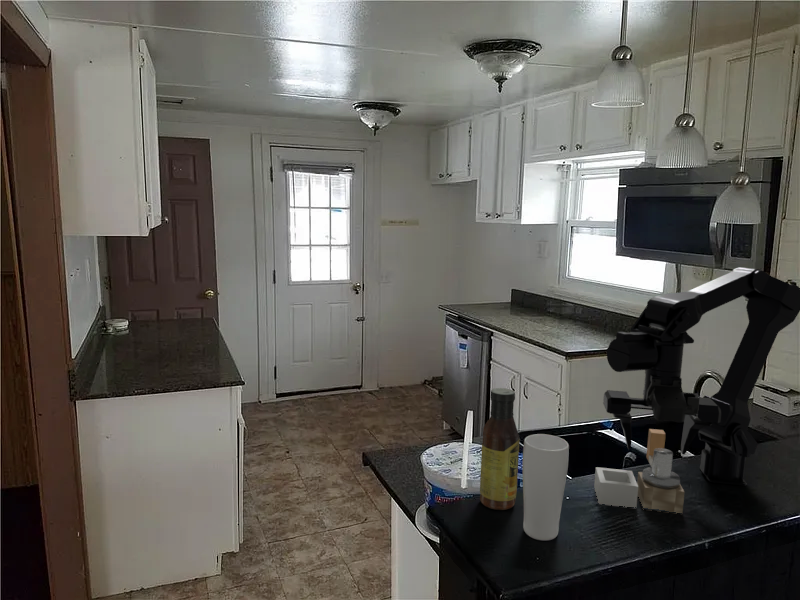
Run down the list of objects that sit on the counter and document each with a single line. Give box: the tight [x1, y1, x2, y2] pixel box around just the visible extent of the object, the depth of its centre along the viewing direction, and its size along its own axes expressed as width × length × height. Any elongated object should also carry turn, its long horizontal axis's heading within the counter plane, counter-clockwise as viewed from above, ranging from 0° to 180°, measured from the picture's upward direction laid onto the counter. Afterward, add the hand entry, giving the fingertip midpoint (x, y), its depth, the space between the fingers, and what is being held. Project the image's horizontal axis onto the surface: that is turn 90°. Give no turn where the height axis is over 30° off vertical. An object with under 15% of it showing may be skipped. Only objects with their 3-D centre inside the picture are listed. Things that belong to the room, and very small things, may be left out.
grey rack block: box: [593, 466, 638, 509], centre depth 102 cm, size 6×6×4 cm
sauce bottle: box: [479, 387, 520, 511], centre depth 98 cm, size 7×6×20 cm
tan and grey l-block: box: [646, 428, 666, 467], centre depth 104 cm, size 2×5×5 cm, turn 168°
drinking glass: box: [521, 433, 570, 542], centre depth 90 cm, size 7×7×15 cm
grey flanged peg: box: [641, 447, 681, 490], centre depth 100 cm, size 6×6×9 cm
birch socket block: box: [636, 471, 685, 514], centre depth 101 cm, size 6×6×4 cm
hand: (655, 450), depth 105 cm, fingers open, 9 cm apart
